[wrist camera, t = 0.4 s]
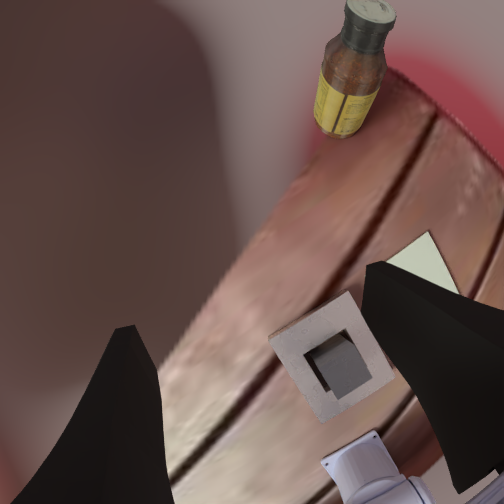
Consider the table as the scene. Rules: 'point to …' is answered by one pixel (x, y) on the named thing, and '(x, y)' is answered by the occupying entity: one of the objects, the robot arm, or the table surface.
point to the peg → (340, 365)
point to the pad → (424, 262)
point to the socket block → (316, 332)
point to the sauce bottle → (353, 68)
